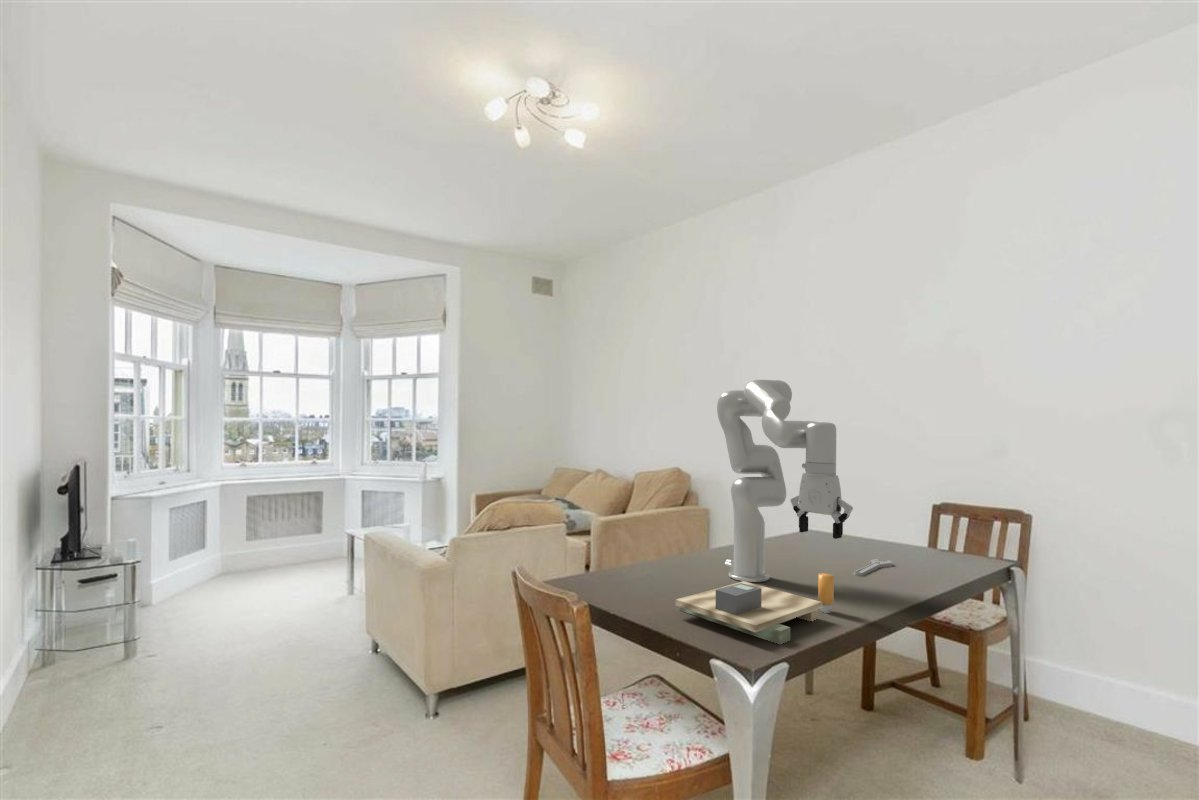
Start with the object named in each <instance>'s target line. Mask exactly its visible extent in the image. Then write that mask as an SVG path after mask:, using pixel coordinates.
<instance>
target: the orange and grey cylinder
mask: <svg viewBox="0 0 1199 800" xmlns="http://www.w3.org/2000/svg"><path fill="white" fill-rule="evenodd" d="M817 578H818V580H817V586H818V588H817V589H818V590H817V592H818V594H817V601H820V602H822V608H821V609H820V612H821V613H823V612H824V613H823V614H831V613H832V605H833V604H834V603H835V602H834V601H835V599H834V598H835V597H834V595H835V594H834V590H835V587H834V586H835V585H834V583H835V582H834V581H835V578H834V575H833V573H832V574H831V573H828V572H827V573H825V572H822V573H818V575H817Z"/></svg>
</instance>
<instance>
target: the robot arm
mask: <svg viewBox="0 0 1199 800" xmlns="http://www.w3.org/2000/svg"><path fill="white" fill-rule="evenodd" d="M792 396H793V392H792V388H791V386H790V385H789V384H788V383H787V382H785V381H783V380H779V379H778V380H777V379H754V380H752V381H749V382H748V383H747V384H746V386H745V387H744V389H743V390H742V389H741V390H737V389H736V390H735V389H734V390H728V391H724V392H723V393H721V394H720V396H719V398H718V400H717V404H716V411H717V413H716V414H717V419H718V422H719V424H720V426H721V428H722V431H723V434H724V438H725V442H726V448H727V452H728V458H729V463H730V466H731V469H732V471H733V473H736V474H740V475H761V476H743V477H739V478H737V479H736V480H734V481H733V483H732V484H731V487H730V494H731V495H730V496H731V501H732V507H733V559H730V558H727V559H726V560H725V562H724V566H725V567H730V570H729V571H728V577H730V578H731V579H733V580H735V581H739V582H742V581H745V582H749V583H761V582H762V583H764V582H767V581H768V580H770V574H769V573H768V572H766V571H765V558H766V557H765V555H766V554H765V548H766V547H765V546H766V545H765V543H766V542H765V541H766V539H765V535H766V534H765V533H766V531H765V529H766V527H765V526H766V525H765V524H766V522H765V519H764V517H763V515H762V513H761V512H760V510H759V508H766V507H767V508H768V507H769V508H771V507H779V506H782V505H783V504H784V502H785V501H786V498H787V487H786V482H785V478H784V473H783V469H782V465H781V460H780V456H779V454H778V452H777V450H776V449H775V448H774V447H772V446H771V445H769V444H756V443H755V442H754V440H753V439H754V438H753V434H752V431H751V429H750V428H749V426H748V425H747V423H746V422H745V421H744V420H743V419H741V417H761V427H762V430H763V431H762V432H763V433H764V435H765V436H766V437H767V438H768V440H769V441H770V442H771V443H773V445H775V446H777V447H779V448H782V449H805V461H804V462H805V463H802V464H801V468H802V469H804V470H805V472H804V473H802V476H801V478H800V485H799V490H798V491H799V492H798V495H796V496H794V497H792V498H790V503H791V505H792V509H793V511H794V512H795V513H796V516H797V517H798V528H799V529H798V530H799V531H798V532H799V533H806V532H808V531H809V516H807V515H808V514H809V513H811V514H812V513H813V514H819V515H823V516H824V515H827V516H831V518H832V519H833V521H834V522H833V523H832V538H833V540H834V539H835V540H837V539H841V538H843V534H844V533H843V532H844V523H845V521H846V520H847V519H848V518H849V517H850V516H851V514H852V512H853V510H854V507H853V506H852V505H851V504H850V503H847V502H846V501H844V500H843V499H842V491H841V483H840V478H839V475H837V426H836V424H834V423H833V422H825V421H824V422H821V421H814V420H813V421H812V420H785V419H787V418H788V416H789V414H790V412H791V402H792ZM842 508H843V513H842Z"/></svg>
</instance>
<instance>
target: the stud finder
mask: <svg viewBox="0 0 1199 800" xmlns="http://www.w3.org/2000/svg"><path fill="white" fill-rule="evenodd" d="M738 583H739V582H738ZM761 591H762V588H758V587H754V586H751V585H747V584H743V583H739V584H736V585H732V586H728V587H725V588H721V589H717V590H716V609H718V610H721V611H724V612H727V613H730V614H733V615H738V614H742V613H745V612H748V611H751V610H754V609H757V608H760V607H761Z"/></svg>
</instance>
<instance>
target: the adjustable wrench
mask: <svg viewBox="0 0 1199 800" xmlns="http://www.w3.org/2000/svg"><path fill="white" fill-rule="evenodd" d="M889 567H893V561H891V560H888V559H887V560H886V561H882V560H881V561H880V560H879V559H878V558H874V559H871V560H869V563H868V565H865V566H863V567H861V568H858V569H855V570H854V571H853V575H854V576H855V575H856V576H855V577H863V576H865V575H867V574H870V573H871V572H873V571H875V570H877V569H879V568H889Z"/></svg>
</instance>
